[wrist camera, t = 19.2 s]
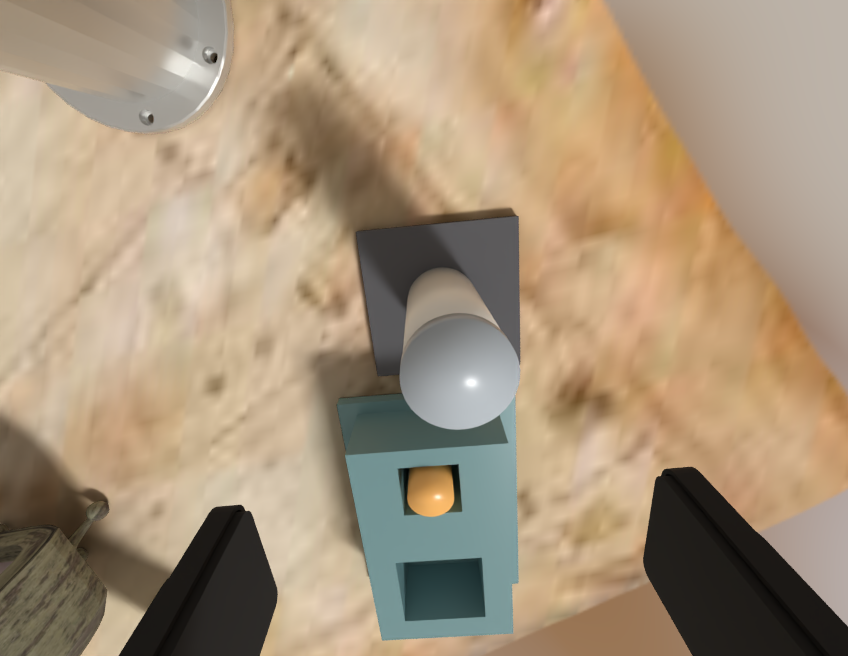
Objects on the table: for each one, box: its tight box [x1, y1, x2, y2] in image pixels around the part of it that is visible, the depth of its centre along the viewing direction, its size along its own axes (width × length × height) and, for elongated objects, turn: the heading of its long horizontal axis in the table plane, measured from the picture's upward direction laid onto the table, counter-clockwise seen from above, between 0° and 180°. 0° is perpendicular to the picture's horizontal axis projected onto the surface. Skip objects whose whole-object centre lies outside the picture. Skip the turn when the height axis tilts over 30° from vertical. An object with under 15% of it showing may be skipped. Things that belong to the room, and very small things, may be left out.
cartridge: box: [400, 267, 520, 430], centre depth 22 cm, size 5×5×12 cm
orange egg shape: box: [407, 465, 454, 517], centre depth 29 cm, size 3×3×4 cm
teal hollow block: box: [337, 393, 518, 640], centre depth 32 cm, size 21×14×6 cm, turn 6°
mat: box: [356, 216, 520, 376], centre depth 29 cm, size 11×11×1 cm
